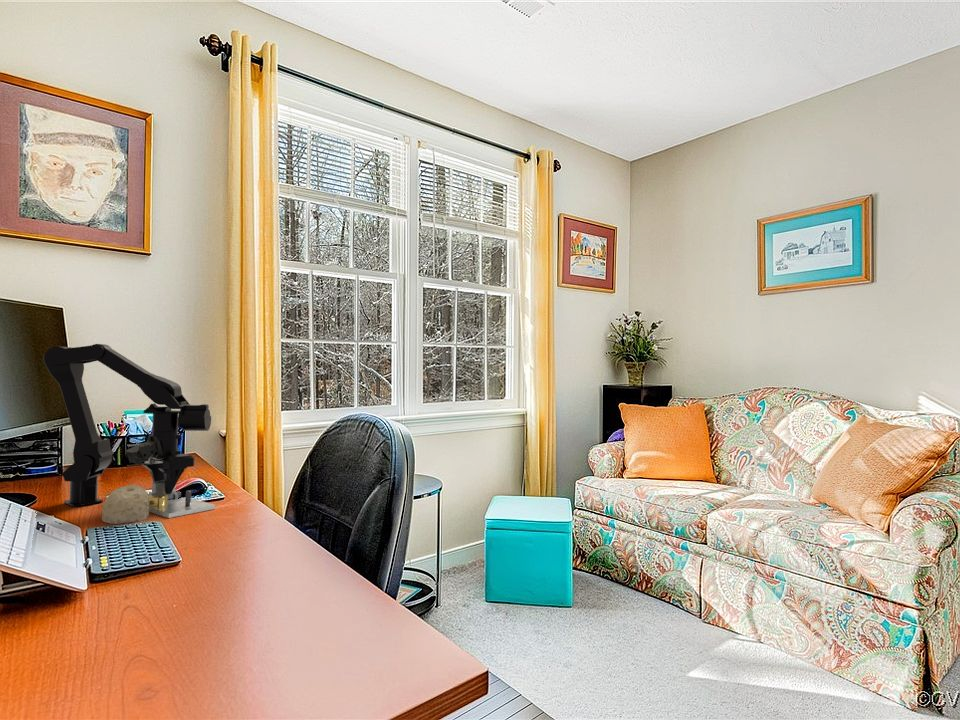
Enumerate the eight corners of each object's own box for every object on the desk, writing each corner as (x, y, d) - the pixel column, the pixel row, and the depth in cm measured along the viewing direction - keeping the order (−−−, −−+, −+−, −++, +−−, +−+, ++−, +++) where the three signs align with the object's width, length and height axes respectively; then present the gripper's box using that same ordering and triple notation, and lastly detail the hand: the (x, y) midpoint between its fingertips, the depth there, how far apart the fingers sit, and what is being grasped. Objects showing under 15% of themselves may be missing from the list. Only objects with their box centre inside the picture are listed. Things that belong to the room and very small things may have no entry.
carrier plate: (138, 509, 137) (138, 490, 137) (186, 500, 146) (187, 483, 146) (165, 518, 129) (166, 498, 129) (214, 508, 139) (215, 490, 139)
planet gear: (140, 500, 144) (141, 482, 145) (170, 495, 151) (171, 477, 151) (155, 504, 140) (155, 486, 140) (185, 499, 146) (186, 481, 146)
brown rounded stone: (149, 536, 130) (166, 494, 136) (125, 520, 122) (144, 477, 128) (111, 533, 131) (130, 492, 137) (85, 518, 123) (106, 475, 129)
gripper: (114, 430, 144) (112, 492, 144) (149, 436, 134) (147, 503, 133) (159, 427, 154) (157, 485, 153) (196, 432, 143) (194, 495, 143)
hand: (163, 492), depth 145 cm, fingers closed on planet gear, 5 cm apart
